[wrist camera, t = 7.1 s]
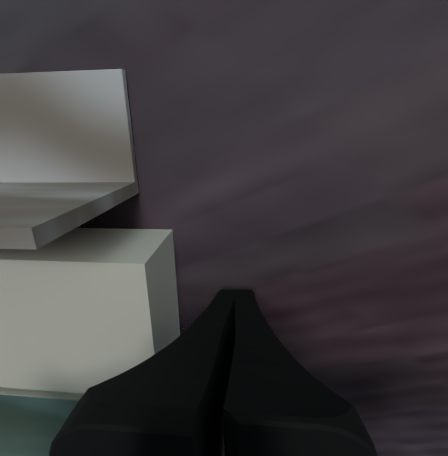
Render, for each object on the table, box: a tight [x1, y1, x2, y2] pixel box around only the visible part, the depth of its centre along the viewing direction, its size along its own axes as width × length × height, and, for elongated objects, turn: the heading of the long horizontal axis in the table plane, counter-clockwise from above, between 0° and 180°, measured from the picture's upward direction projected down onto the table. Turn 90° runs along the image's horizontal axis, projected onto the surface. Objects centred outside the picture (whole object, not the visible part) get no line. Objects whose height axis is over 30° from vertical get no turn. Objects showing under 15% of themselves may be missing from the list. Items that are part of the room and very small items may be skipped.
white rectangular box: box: [0, 228, 180, 401], centre depth 12 cm, size 6×8×4 cm
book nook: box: [0, 69, 139, 456], centre depth 11 cm, size 18×8×6 cm, turn 1°
